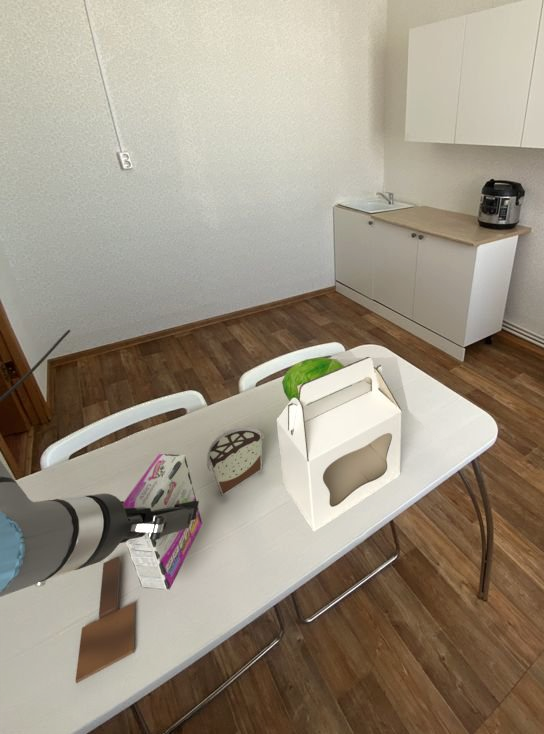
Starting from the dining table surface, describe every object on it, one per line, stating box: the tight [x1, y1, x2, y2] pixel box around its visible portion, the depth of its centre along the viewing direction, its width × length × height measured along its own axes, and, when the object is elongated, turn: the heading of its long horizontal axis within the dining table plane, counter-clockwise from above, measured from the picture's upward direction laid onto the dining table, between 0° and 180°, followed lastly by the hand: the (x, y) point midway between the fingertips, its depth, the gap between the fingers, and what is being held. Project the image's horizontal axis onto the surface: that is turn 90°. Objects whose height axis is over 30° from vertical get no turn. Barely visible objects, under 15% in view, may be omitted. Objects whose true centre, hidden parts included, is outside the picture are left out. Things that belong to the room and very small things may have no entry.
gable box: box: [275, 356, 403, 532], centre depth 78 cm, size 22×13×28 cm, turn 126°
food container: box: [206, 426, 265, 497], centre depth 83 cm, size 12×6×10 cm, turn 135°
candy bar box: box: [123, 453, 203, 591], centre depth 61 cm, size 11×5×16 cm, turn 175°
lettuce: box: [281, 356, 353, 406], centre depth 103 cm, size 17×20×17 cm
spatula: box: [75, 555, 136, 684], centre depth 60 cm, size 16×7×1 cm, turn 28°
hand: (179, 508), depth 66 cm, fingers closed on candy bar box, 5 cm apart
